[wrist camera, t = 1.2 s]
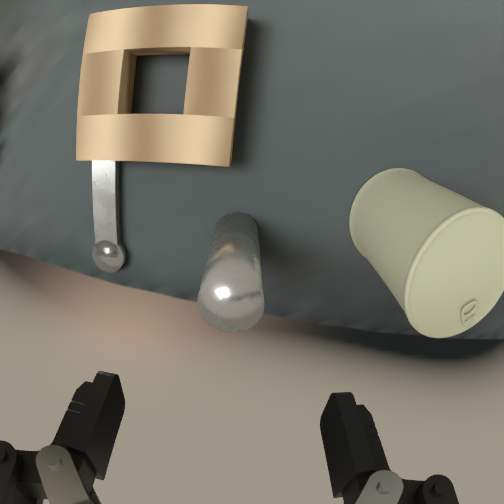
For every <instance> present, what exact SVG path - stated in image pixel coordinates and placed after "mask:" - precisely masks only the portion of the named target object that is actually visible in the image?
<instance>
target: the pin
mask: <svg viewBox="0 0 504 504" xmlns="http://www.w3.org/2000/svg"><path fill="white" fill-rule="evenodd" d="M197 307H198V310H199V314H200V315H201V317H202V318H203V320H204V321H205V322H206V323H207V324H208V325H210V326H211V327H213V328H215V329H218V330H221V331H224V332H239V331H243V330H246V329H249V328H250V327H252V326H253V325H255V324H256V323H257V322H258V321H259V319H260V318H261V316H262V314H263V311H264V296H263V284H262V272H261V260H260V248H259V237H258V228H257V225H256V223H255V221H254V220H253V219H252V218H251V217H250V216H248V215H247V214H244V213H240V212H233V213H229V214H227V215H225V216H223V217H222V218H221V219H220V220H219V222H218V223H217V226H216V229H215V233H214V237H213V241H212V244H211V248H210V252H209V256H208V260H207V264H206V267H205V271H204V275H203V279H202V283H201V287H200V291H199V295H198V300H197Z"/></svg>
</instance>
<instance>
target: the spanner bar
mask: <svg viewBox="0 0 504 504" xmlns="http://www.w3.org/2000/svg"><path fill="white" fill-rule="evenodd" d="M119 168H120V161H105V160H92V189H93V213H94V229H95V241H96V244H95V245H94V247H93V250H92V257H93V260H94V262H95V264H96V265H97V266H98V267H99V268H100V269H101V270H103V271H105V272H116V271H118V270H119V269H120V268H121V267H122V265H123V264H124V262H125V261H126V258H127V252H126V248H125V246H124V245H123V243H122V242H121V229H120V192H119Z"/></svg>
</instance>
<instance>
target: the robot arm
mask: <svg viewBox="0 0 504 504" xmlns="http://www.w3.org/2000/svg"><path fill="white" fill-rule="evenodd" d="M124 409H125V398H124V394H123V391H122V387H121V383H120V379H119V376H118V375H117V374H113V373H107V372H103V371H99V372H98V373H97V374H96V376H95V379H94V381H93V383H91V382H84V383H83V384H82V385H81V386H80V387H79V388H78V389H77V390H76V392H75V394H74V396H73V398H72V402H70V404H69V406H68V410H67V411H66V413H65V415H64V418H63V420H62V422H61V424H60V427H59V429H58V431H57V433H56V436H55V438H54V440H53V442H52V443H51V444H50V445H48V446H45V447H43V448H42V449H41V450H40V451H23V450H15V449H14V447H13V446H12V445H11V444H10V443H8V442H6V441H0V504H43V500H44V499H48V500H49V503H50V504H101V502H100V500H99V498H98V496H97V494H96V492H95V490H94V488H93V484H94V480H95V478H97V479H100V480H104V478H105V475H106V471H107V467H108V464H109V460H110V457H111V453H112V450H113V447H114V443H115V440H116V436H117V433H118V430H119V427H120V423H121V420H122V417H123V414H124ZM320 430H321V435H322V440H323V445H324V450H325V455H326V460H327V465H328V471H329V476H330V481H331V486H332V492H333V497H334V498H338V497H343V500H344V504H459V503H458V499H457V496H456V493H455V490H454V487H453V484H452V482H451V481H450V479H448V478H447V477H445V476H443V475H433V476H430V477H429V478H428V479H427V480H425V481H415V480H405V479H401V478H400V477H399V476H398V475H397V474H396V473H394V472H392V471H391V470H390V468H389V466H388V463H387V460H386V457H385V454H384V451H383V447H382V445H381V441H380V439H379V436H378V432H377V429H376V427H375V423H374V421H373V418H372V415H371V413H370V412H369V411H368V410H367V409H366V407H365V406H364V405H356V402H355V399H354V396H353V394H352V393H351V392H344V393H332V394H331V395H330V397H329V400H328V402H327V404H326V407H325V409H324V411H323V413H322V416H321V420H320Z"/></svg>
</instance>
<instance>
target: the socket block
mask: <svg viewBox="0 0 504 504" xmlns="http://www.w3.org/2000/svg"><path fill="white" fill-rule="evenodd" d="M247 20H248V6H235V5H212V4H181V5H159V6H145V7H135V8H126V9H118V10H111V11H104V12H98V13H92V14H90V15H89V20H88V26H87V31H86V37H85V44H84V51H83V58H82V66H81V75H80V85H79V97H78V112H77V140H76V160H105V161H146V162H168V163H186V164H201V165H214V166H226V167H229V166H230V163H231V158H232V148H233V138H234V129H235V119H236V110H237V101H238V92H239V84H240V75H241V67H242V58H243V50H244V42H245V35H246V27H247ZM141 55H190V59H189V67H188V76H187V85H186V94H185V104H184V114H131V112H132V99H133V88H134V78H135V69H136V61H137V56H141Z"/></svg>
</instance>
